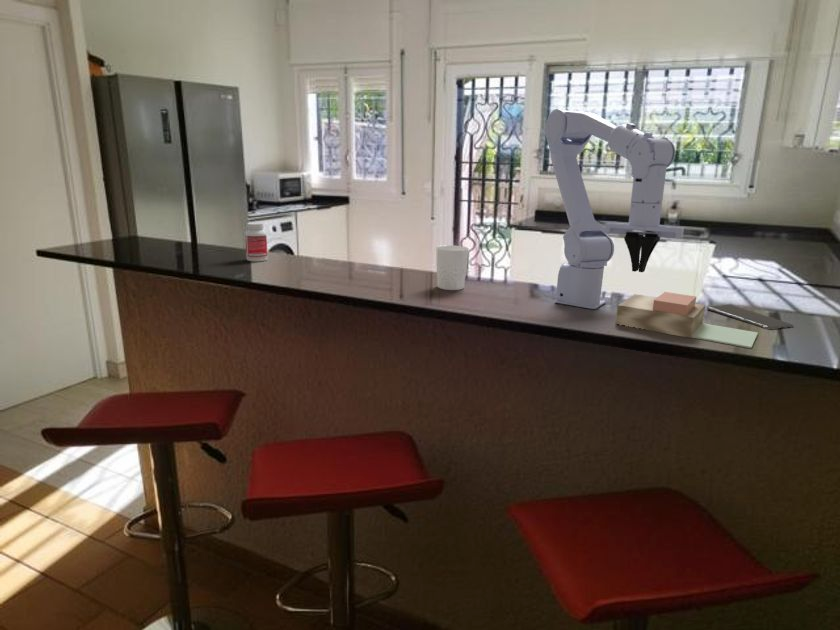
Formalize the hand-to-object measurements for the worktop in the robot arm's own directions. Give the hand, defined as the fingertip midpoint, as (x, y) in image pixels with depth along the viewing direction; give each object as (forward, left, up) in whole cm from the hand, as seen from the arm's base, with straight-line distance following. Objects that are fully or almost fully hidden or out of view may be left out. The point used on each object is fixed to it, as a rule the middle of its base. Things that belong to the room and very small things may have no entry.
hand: (638, 271), depth 115 cm
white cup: (-45, +1, -11) cm, 46 cm away
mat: (+17, +1, -10) cm, 20 cm away
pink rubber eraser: (+8, 0, -6) cm, 10 cm away
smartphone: (+19, +19, -11) cm, 29 cm away
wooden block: (+5, +1, -10) cm, 12 cm away
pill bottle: (-109, -7, -11) cm, 110 cm away
